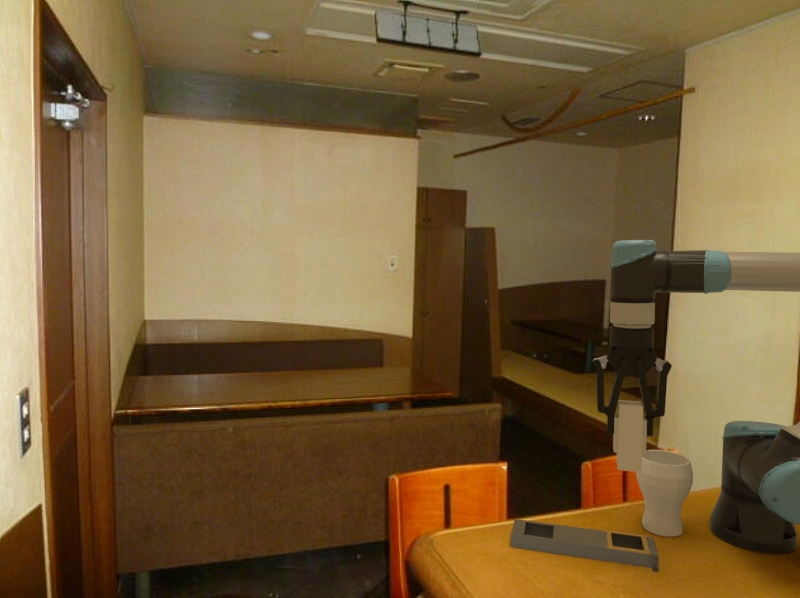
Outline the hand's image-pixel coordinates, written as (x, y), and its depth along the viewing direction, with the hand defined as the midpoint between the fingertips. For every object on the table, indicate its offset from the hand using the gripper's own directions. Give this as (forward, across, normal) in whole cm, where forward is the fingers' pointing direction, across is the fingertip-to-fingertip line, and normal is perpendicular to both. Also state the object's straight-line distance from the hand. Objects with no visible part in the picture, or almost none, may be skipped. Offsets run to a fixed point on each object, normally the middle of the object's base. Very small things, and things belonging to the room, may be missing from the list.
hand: (629, 451), depth 107 cm
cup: (+21, -8, -15) cm, 27 cm away
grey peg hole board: (+20, +8, 0) cm, 22 cm away
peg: (+3, 0, 0) cm, 3 cm away
